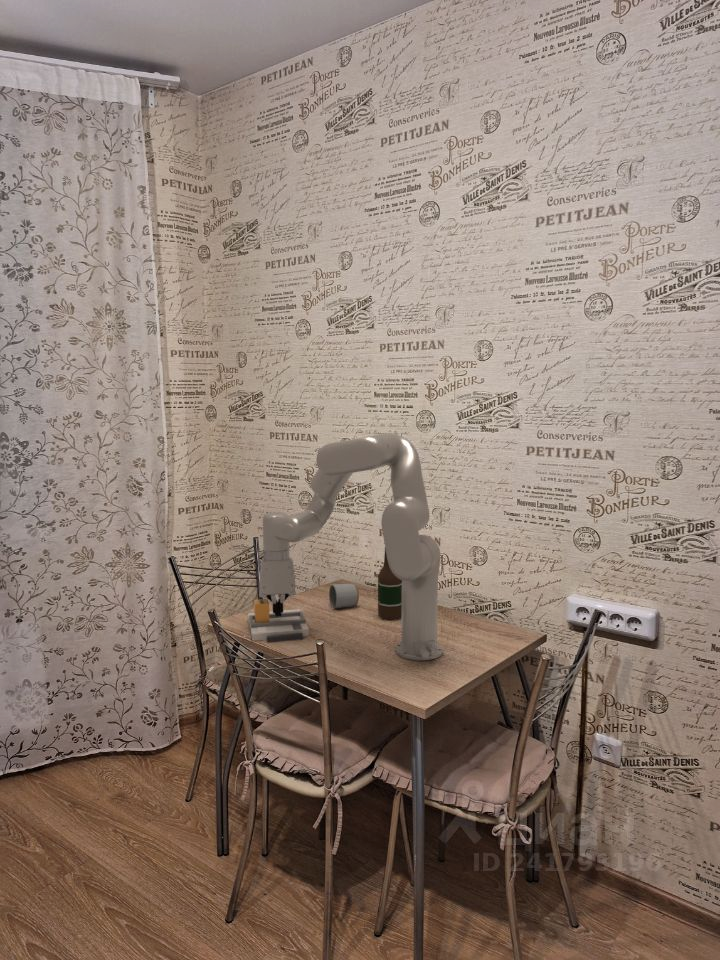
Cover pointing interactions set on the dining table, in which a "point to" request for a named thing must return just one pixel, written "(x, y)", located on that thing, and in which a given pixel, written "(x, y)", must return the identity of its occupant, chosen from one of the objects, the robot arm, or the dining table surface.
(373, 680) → the dining table surface
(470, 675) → the dining table surface
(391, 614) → the beer bottle
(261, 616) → the orange upright block
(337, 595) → the ceramic mug
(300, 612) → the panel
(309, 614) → the dining table surface
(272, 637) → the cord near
